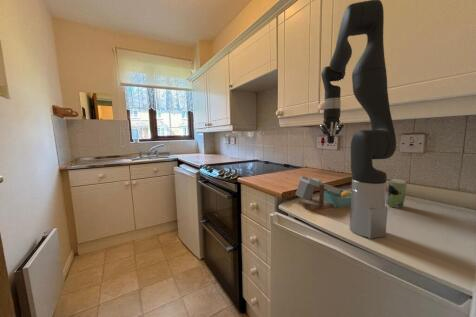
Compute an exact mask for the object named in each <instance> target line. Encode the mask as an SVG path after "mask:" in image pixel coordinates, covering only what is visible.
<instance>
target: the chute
mask: <svg viewBox="0 0 476 317" xmlns="http://www.w3.org/2000/svg"><path fill="white" fill-rule="evenodd" d="M320 185H324V190H325V191H332V192H335V193H338V194H340V191H341V189H342V188H338V187H335V186H333V185H330V184H327V183H324V182H322V180H321V179H317V178H315V177H312V178H310V177H308V176H307V177H306V176H305V175H301V177H300V178H299V183H298V185H297V188H296V191H295V196H297V197H298V198H301V200H309V201H310V199H311V197H312V198H313V194H314V191H315V188H316V187H317V188H320Z"/></svg>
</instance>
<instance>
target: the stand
mask: <svg viewBox="0 0 476 317" xmlns="http://www.w3.org/2000/svg"><path fill="white" fill-rule="evenodd" d="M324 191H325V189H324V185H320V187H319V193H318V194H319V197H317V198H313V196H312V197H311V199H310V201H309V200H305V199H298V200H297V203H298V204H299V205H301V206H303V207H304V208H306V209H307V210H308V211H313V210H323V209H330V208H335V205H333V204H331V203H329V202H327V201H325V200H324Z"/></svg>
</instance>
